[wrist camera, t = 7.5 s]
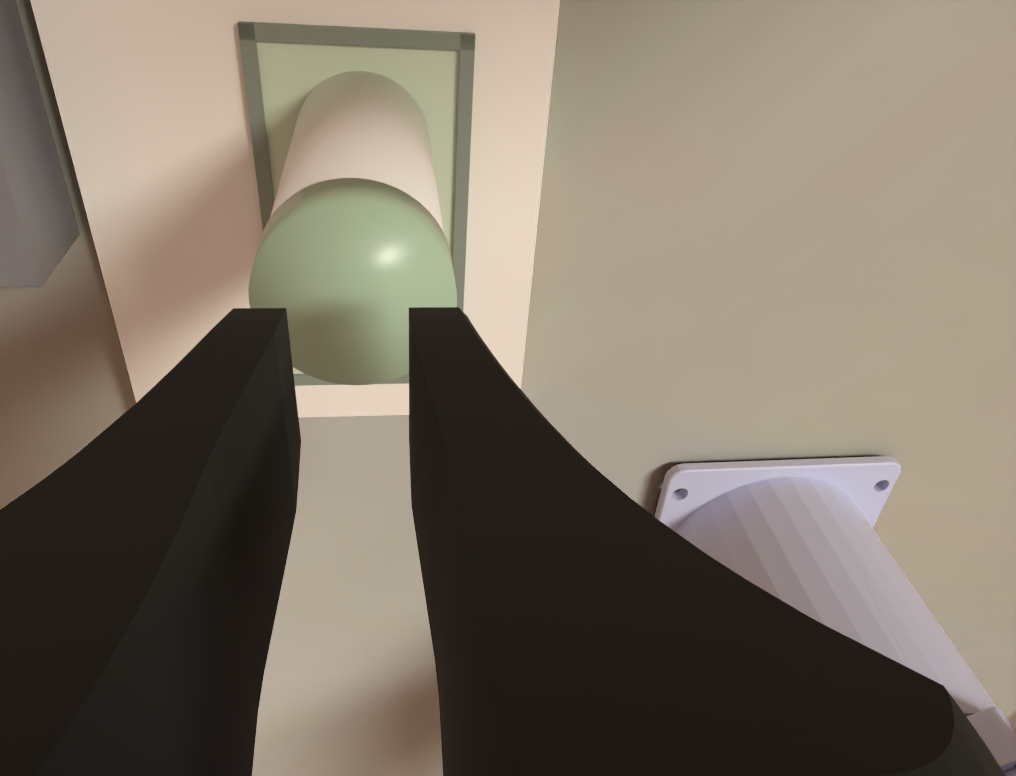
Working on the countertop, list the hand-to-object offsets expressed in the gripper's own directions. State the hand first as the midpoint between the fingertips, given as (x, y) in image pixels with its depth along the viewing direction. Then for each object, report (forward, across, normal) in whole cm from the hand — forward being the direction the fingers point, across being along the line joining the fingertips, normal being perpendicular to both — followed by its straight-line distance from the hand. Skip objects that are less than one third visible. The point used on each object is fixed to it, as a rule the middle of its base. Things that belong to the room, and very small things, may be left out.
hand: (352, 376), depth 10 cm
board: (+9, +1, +2) cm, 10 cm away
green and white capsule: (+9, 0, 0) cm, 9 cm away
